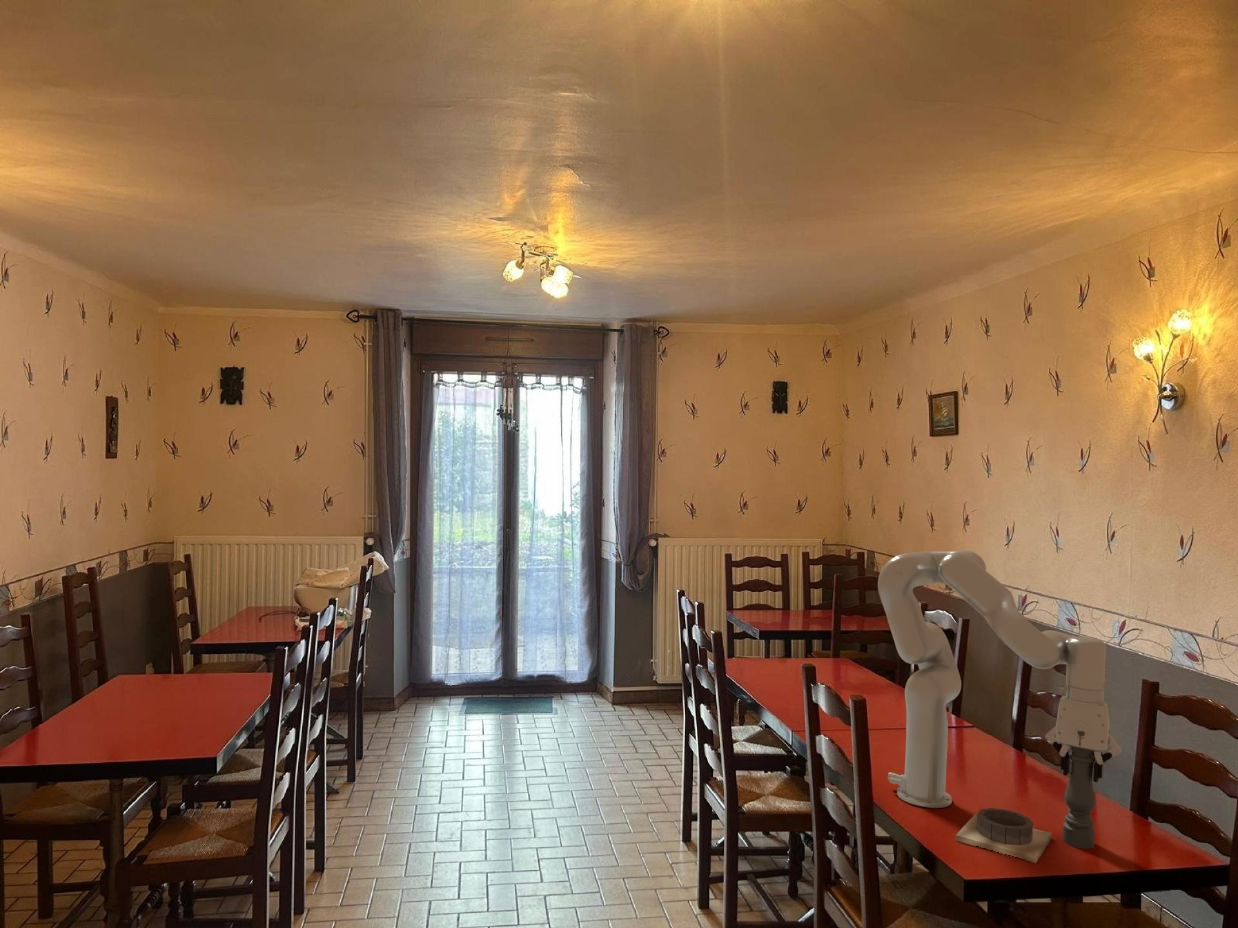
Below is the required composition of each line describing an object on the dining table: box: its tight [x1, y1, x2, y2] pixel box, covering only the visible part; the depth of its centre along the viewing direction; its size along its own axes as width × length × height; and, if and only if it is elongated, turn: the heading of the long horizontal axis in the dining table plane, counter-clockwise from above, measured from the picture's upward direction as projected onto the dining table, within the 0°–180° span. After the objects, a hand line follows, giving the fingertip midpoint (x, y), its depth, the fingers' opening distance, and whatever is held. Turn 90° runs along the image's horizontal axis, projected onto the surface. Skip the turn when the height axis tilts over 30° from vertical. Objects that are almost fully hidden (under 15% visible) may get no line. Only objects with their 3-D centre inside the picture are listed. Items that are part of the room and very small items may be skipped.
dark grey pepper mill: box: [1062, 731, 1097, 850], centre depth 189 cm, size 6×6×25 cm
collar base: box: [955, 807, 1053, 864], centre depth 189 cm, size 16×16×5 cm
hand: (1081, 776), depth 189 cm, fingers closed on dark grey pepper mill, 5 cm apart
